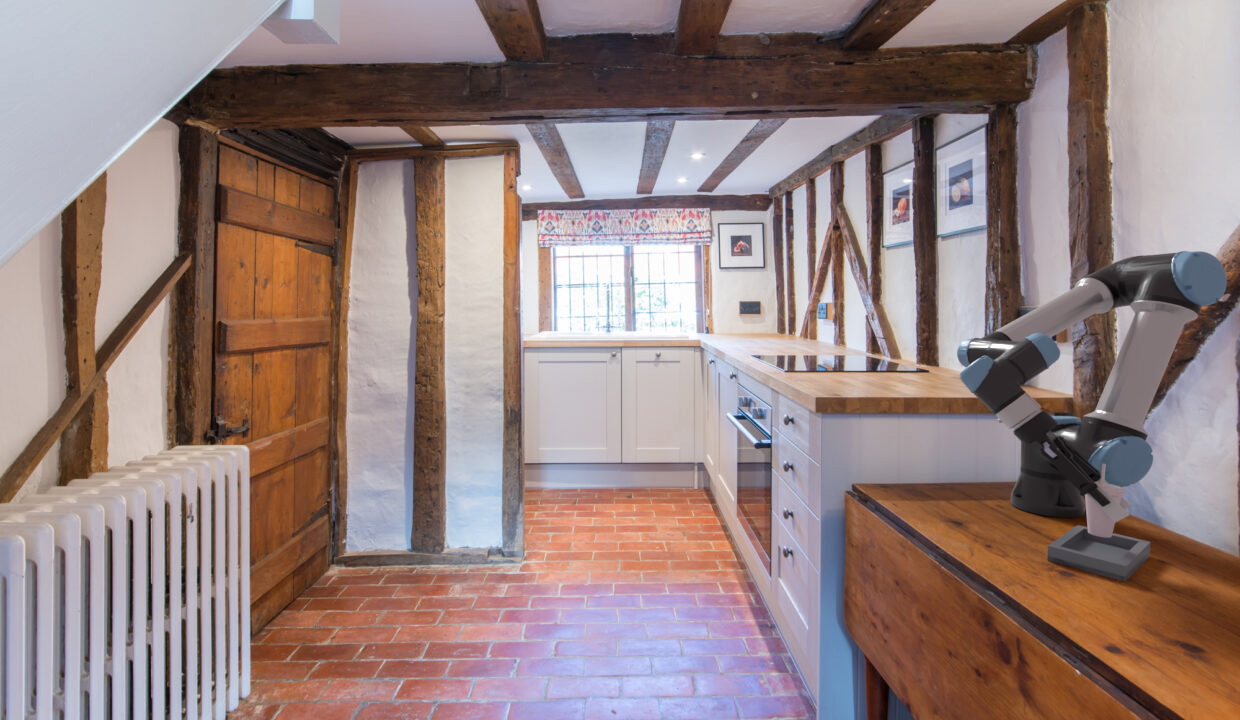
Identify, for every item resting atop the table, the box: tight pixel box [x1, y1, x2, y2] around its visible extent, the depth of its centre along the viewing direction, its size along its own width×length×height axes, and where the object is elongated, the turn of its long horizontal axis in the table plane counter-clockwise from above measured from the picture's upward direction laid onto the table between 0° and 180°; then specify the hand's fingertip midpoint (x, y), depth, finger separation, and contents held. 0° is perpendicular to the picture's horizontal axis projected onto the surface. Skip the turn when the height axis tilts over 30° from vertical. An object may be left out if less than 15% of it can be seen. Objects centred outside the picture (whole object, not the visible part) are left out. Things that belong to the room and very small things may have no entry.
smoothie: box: [1084, 463, 1125, 538], centre depth 117 cm, size 6×6×14 cm
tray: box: [1046, 524, 1152, 583], centre depth 119 cm, size 18×12×3 cm, turn 128°
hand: (1123, 513), depth 115 cm, fingers closed on smoothie, 6 cm apart
